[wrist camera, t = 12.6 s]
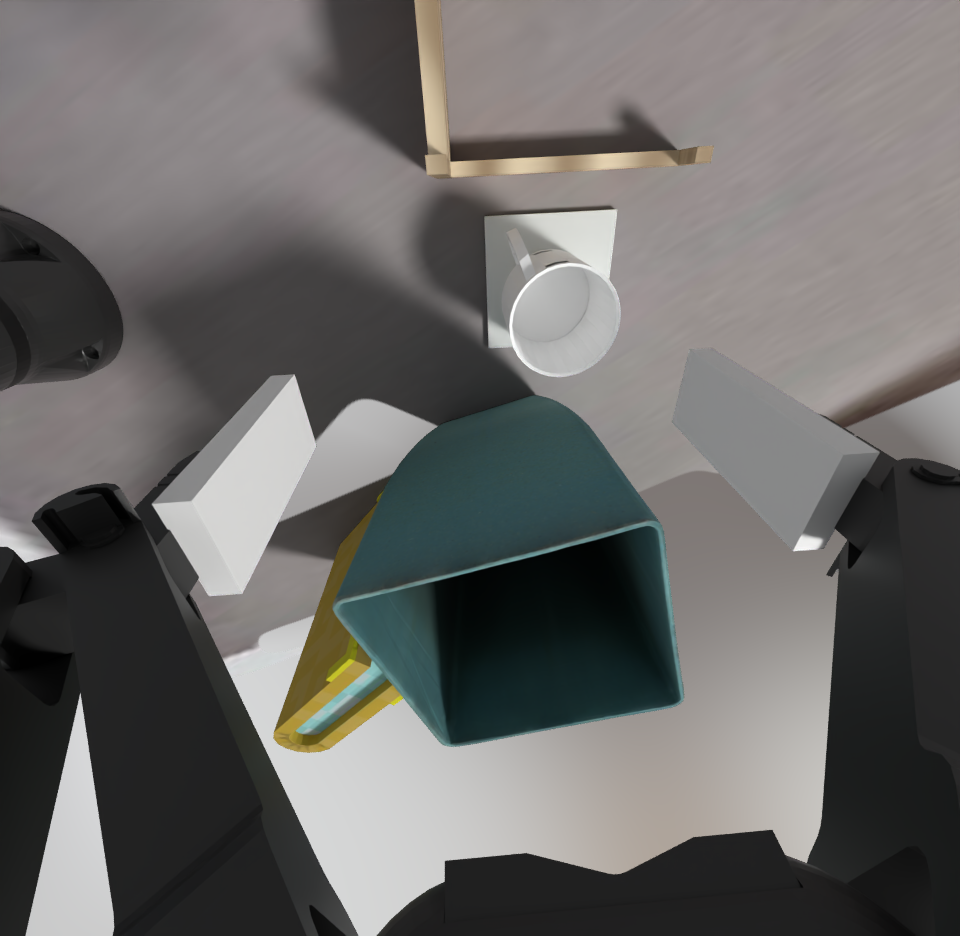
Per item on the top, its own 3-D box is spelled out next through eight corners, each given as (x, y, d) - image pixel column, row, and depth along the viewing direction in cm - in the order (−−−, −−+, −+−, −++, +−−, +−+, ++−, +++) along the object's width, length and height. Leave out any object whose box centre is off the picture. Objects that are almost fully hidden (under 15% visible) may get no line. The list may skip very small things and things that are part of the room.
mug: (601, 322, 43) (631, 352, 36) (519, 357, 45) (531, 392, 37) (568, 195, 37) (595, 197, 29) (474, 242, 39) (477, 255, 31)
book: (394, 478, 54) (349, 658, 33) (435, 503, 57) (419, 686, 36) (328, 552, 61) (258, 740, 40) (368, 572, 64) (322, 758, 43)
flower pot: (392, 404, 48) (322, 607, 25) (561, 348, 45) (664, 520, 22) (452, 527, 59) (444, 750, 36) (593, 488, 56) (685, 705, 32)
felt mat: (488, 346, 45) (488, 348, 44) (484, 216, 38) (484, 216, 38) (600, 340, 45) (601, 342, 44) (615, 209, 38) (617, 209, 38)
